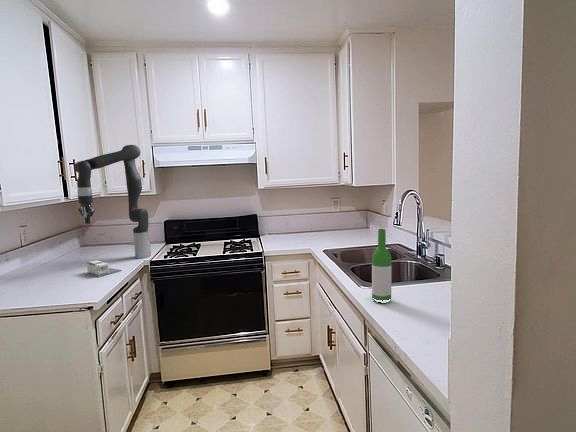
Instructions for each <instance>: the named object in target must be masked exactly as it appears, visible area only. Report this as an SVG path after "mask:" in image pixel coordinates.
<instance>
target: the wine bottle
mask: <svg viewBox="0 0 576 432" xmlns="http://www.w3.org/2000/svg"><path fill="white" fill-rule="evenodd" d="M386 247H387V245H386V229H385V228H379V229H378V230H377V249H375V250H374V251H373V253H372V257H371V299H372V298H374V299H376V300H382V301H383V300H389V299H391V300H392V255H391V252H390V251H389V250H388V249H387V248H386Z"/></svg>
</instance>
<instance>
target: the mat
mask: <svg viewBox="0 0 576 432" xmlns="http://www.w3.org/2000/svg"><path fill="white" fill-rule="evenodd" d="M108 271H109V273H106V274H101V275H97V274H94V273H91V272H87V273H84V274H85V276H88V275H89V277H94V278H101V277H105V276H109V275H112V274H116V273H119V272H121V271H122V269H118V268H112V267H108Z"/></svg>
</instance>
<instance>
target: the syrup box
mask: <svg viewBox="0 0 576 432" xmlns="http://www.w3.org/2000/svg"><path fill="white" fill-rule="evenodd" d="M86 268H87V269H86V270H87V273H94V274H97V275H101V274H106V273H109V271H108V268H109V263H107V262H103V261H101V260H91V261H90V260H89V261H86Z"/></svg>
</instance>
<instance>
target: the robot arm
mask: <svg viewBox="0 0 576 432" xmlns="http://www.w3.org/2000/svg"><path fill="white" fill-rule="evenodd" d="M140 155H141V148H140V147H139V146H137V145H135V144H126V145H124V146H123V147H122V148H121V150H118V151H115V152H109V153H106V154H101V155H97V156H94V157H92V158H89V159H85V160H84V159H83V160H80V161H77V162H75V163H74V164H73V169H74V171H75V173H78V177H77V179H76V187H77V190H76V191H77V202H78V204H80V207H79V208H78V212H79V214H80V215H81V217H83V218H84V222H85V223H84V224H86V225H89V224H91V217H93V215H94V213H95V209H96V208H93V207H92V203H94V199H93V190H92V184H91V177H92V171H93V170H97V169H100V168H101V169H102V168H104V167H108V166H111V165H113V164H115V163H116V164H117V163H119V162H122V161H123V165H124V173H125V182H126V189H127V197H128V198H127V199H128V218H129V220H130V221H131V222H133V223H137V226H136V227H134V228H133V229H132V232H133V233H132V234H133V246H134V247H133V248H134V258H135V259H145V258H146V259H147V258H149V257H151V255H152V254H151V253H152V252H151V242H150V241H149V227H150V226H149V212H148V210H147V209H146V208H139V205H138V201H139V197H140V195H141V193H142V191H143V184H142V183H143V182H142V178H141V175H140V173H139V171H138V168H137V165H136V159H137V158H139V157H140Z"/></svg>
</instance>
